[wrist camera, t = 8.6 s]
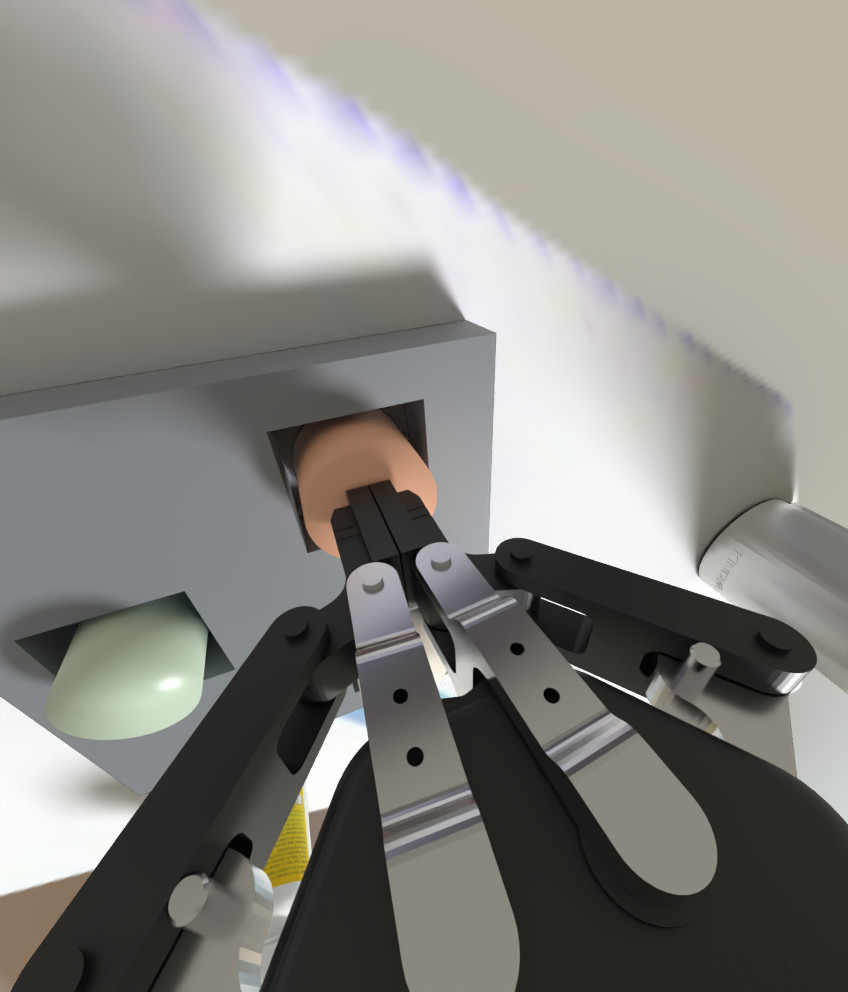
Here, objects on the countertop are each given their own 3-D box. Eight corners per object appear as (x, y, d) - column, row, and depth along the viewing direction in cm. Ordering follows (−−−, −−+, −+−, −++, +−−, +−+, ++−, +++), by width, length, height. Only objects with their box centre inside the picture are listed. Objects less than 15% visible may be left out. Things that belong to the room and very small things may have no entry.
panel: (466, 320, 15) (496, 333, 13) (468, 629, 27) (484, 659, 25) (-211, 430, 10) (-311, 474, 9) (149, 748, 22) (139, 796, 20)
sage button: (185, 564, 16) (169, 642, 13) (225, 630, 19) (220, 708, 16) (57, 599, 15) (8, 693, 12) (119, 664, 18) (92, 754, 15)
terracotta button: (396, 392, 16) (433, 433, 12) (407, 487, 18) (439, 539, 15) (278, 416, 14) (286, 468, 11) (309, 513, 17) (322, 576, 14)
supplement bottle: (214, 787, 27) (200, 1009, 19) (295, 755, 28) (312, 951, 21) (239, 814, 30) (235, 1014, 22) (311, 784, 31) (330, 963, 24)
